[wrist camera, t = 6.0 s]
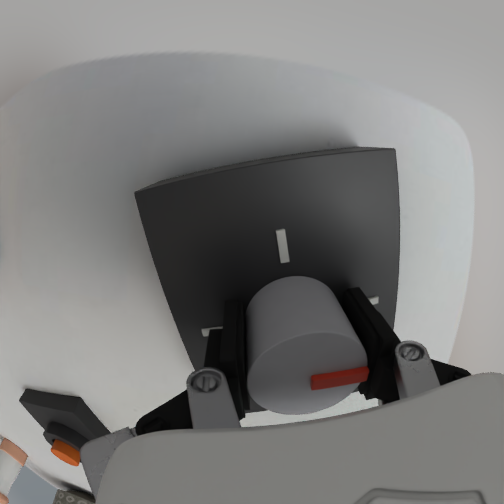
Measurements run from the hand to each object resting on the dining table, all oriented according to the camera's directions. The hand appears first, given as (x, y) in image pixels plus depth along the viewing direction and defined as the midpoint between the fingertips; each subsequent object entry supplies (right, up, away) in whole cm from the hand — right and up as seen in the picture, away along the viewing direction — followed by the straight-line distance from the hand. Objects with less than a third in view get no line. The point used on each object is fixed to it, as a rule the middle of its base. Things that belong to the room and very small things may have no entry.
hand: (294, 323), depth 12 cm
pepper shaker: (-58, -43, +20) cm, 74 cm away
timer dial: (0, 0, 0) cm, 1 cm away
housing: (-23, -18, +11) cm, 31 cm away
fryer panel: (0, +2, +4) cm, 5 cm away
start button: (-23, -19, +8) cm, 31 cm away
